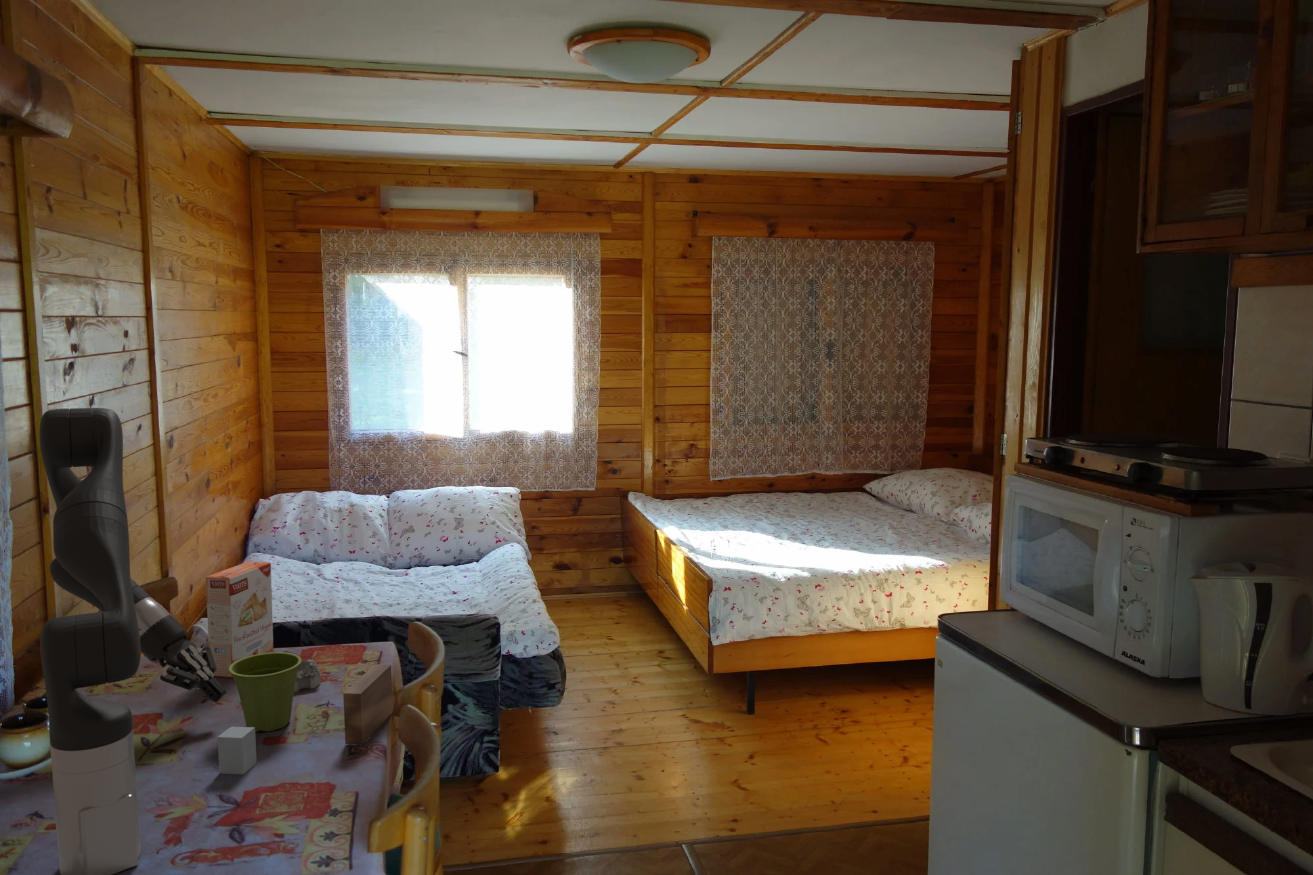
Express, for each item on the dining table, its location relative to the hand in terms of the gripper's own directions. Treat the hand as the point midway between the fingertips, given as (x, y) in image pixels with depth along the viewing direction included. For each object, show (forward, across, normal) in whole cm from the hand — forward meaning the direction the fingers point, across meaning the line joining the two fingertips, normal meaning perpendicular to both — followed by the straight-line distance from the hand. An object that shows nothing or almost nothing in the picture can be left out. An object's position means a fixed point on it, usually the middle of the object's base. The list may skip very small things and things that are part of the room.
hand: (221, 697), depth 168 cm
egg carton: (+7, +21, +1) cm, 22 cm away
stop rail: (+22, 0, -16) cm, 27 cm away
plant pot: (+10, 0, -2) cm, 10 cm away
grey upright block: (+12, -17, -5) cm, 21 cm away
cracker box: (-4, +28, +12) cm, 31 cm away
